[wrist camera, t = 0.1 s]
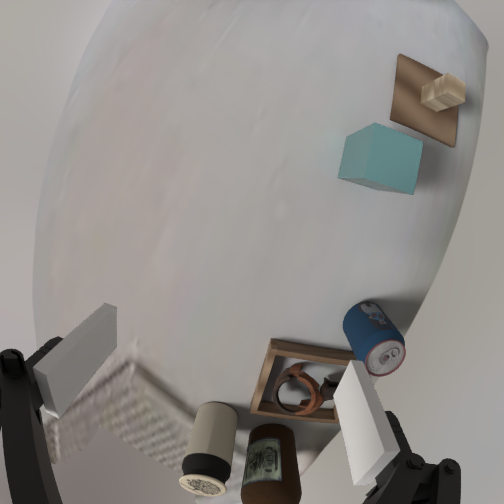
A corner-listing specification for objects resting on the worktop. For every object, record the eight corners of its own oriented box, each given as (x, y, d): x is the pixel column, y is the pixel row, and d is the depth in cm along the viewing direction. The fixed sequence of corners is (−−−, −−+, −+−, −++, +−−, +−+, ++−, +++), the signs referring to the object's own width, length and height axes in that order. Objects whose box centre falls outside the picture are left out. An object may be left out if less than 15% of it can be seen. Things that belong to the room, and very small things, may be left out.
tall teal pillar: (346, 137, 37) (374, 122, 26) (385, 149, 37) (423, 142, 26) (337, 178, 39) (363, 178, 27) (376, 189, 39) (413, 194, 27)
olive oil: (304, 442, 52) (313, 539, 27) (260, 454, 53) (255, 547, 29) (285, 415, 49) (289, 525, 25) (237, 429, 51) (223, 532, 27)
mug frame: (270, 338, 45) (271, 348, 42) (365, 353, 45) (370, 363, 42) (251, 402, 49) (250, 413, 46) (335, 413, 49) (337, 423, 46)
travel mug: (222, 396, 49) (206, 472, 31) (245, 420, 50) (238, 493, 33) (190, 408, 50) (167, 478, 33) (213, 430, 52) (199, 499, 34)
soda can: (350, 343, 45) (370, 388, 33) (334, 312, 44) (353, 354, 32) (386, 322, 44) (414, 362, 32) (371, 290, 42) (402, 326, 31)
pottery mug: (288, 406, 50) (272, 423, 42) (279, 361, 52) (262, 372, 44) (350, 399, 45) (344, 417, 38) (342, 351, 47) (335, 362, 40)
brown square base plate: (397, 55, 33) (422, 34, 24) (456, 85, 33) (486, 73, 24) (389, 119, 36) (417, 107, 27) (450, 147, 36) (484, 143, 27)
